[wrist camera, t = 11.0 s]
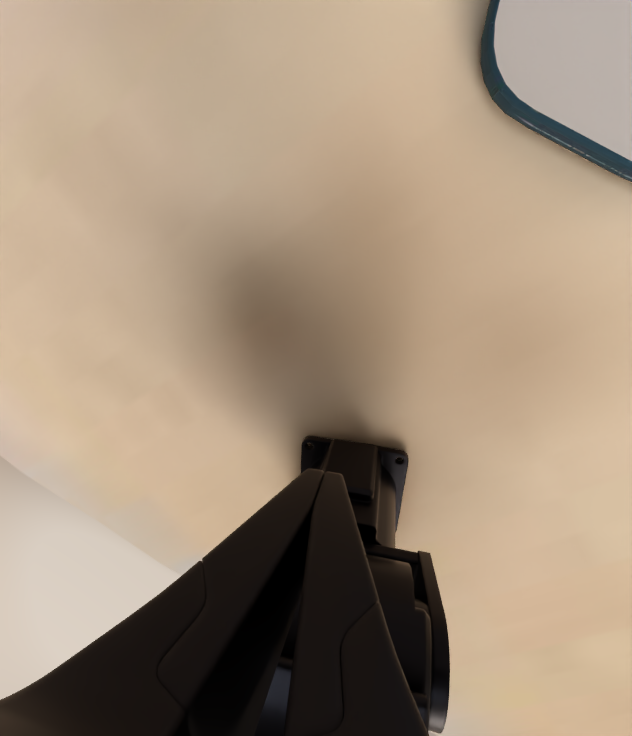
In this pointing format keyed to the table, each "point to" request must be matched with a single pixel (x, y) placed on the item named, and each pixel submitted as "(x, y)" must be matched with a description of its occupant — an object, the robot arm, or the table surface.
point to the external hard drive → (565, 73)
